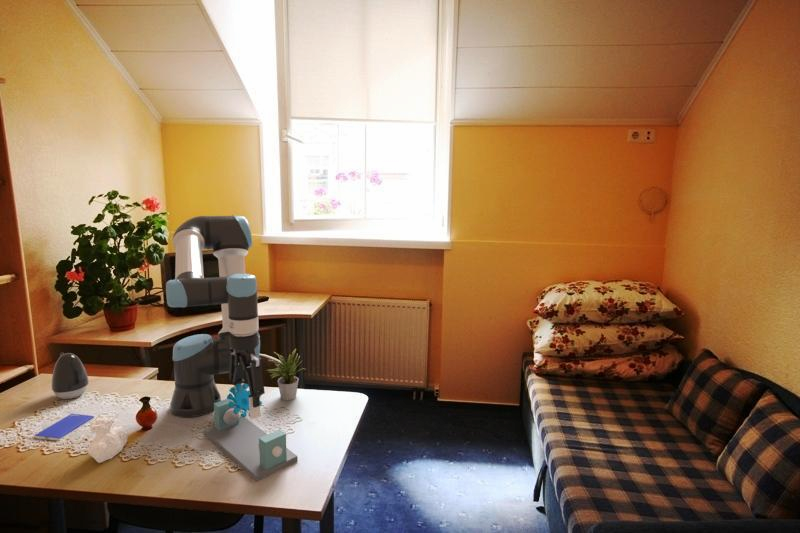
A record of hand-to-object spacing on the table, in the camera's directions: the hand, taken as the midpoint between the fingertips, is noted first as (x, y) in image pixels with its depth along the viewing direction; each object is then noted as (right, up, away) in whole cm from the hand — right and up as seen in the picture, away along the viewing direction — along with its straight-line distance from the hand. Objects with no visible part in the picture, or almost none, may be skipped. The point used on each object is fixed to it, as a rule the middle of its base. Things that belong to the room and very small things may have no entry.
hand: (247, 411), depth 124 cm
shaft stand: (0, -11, +2) cm, 11 cm away
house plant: (+3, -5, +34) cm, 34 cm away
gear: (0, 0, 0) cm, 0 cm away
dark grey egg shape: (-71, -4, +30) cm, 77 cm away
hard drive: (-58, -9, +10) cm, 59 cm away
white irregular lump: (-37, -11, -2) cm, 39 cm away
